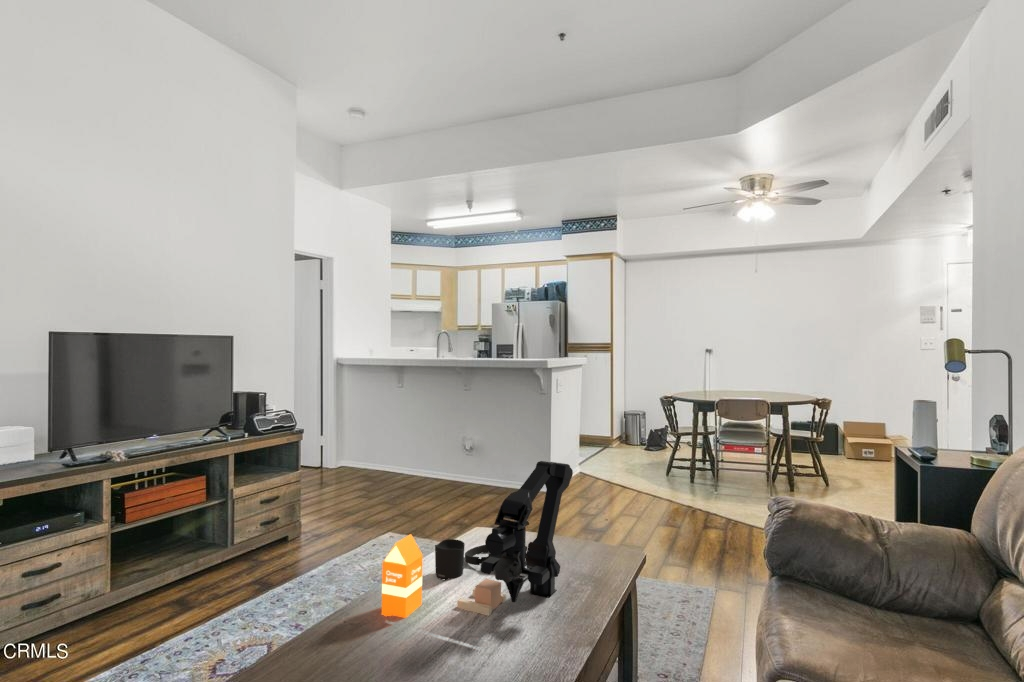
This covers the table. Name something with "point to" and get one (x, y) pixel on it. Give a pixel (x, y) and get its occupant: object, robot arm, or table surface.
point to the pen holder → (449, 559)
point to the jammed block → (488, 593)
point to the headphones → (477, 550)
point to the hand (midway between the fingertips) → (514, 601)
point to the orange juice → (402, 579)
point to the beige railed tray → (477, 605)
